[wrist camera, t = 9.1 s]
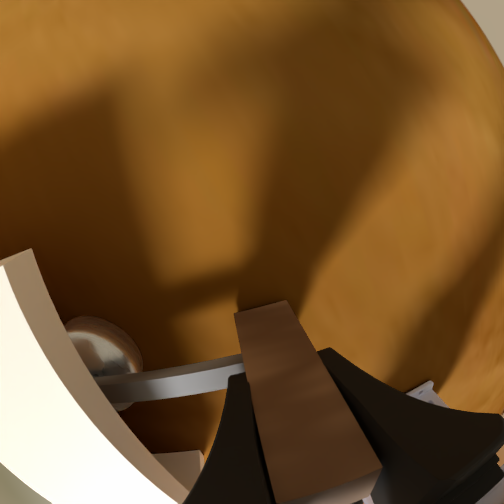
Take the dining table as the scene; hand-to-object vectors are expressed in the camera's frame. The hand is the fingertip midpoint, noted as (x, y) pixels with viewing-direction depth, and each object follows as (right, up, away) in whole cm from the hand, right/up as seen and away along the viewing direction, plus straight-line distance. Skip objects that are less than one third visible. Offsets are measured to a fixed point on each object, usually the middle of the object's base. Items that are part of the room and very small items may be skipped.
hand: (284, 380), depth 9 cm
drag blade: (-6, 0, +3) cm, 7 cm away
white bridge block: (-12, -3, +3) cm, 13 cm away
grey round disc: (-9, -1, +3) cm, 10 cm away
